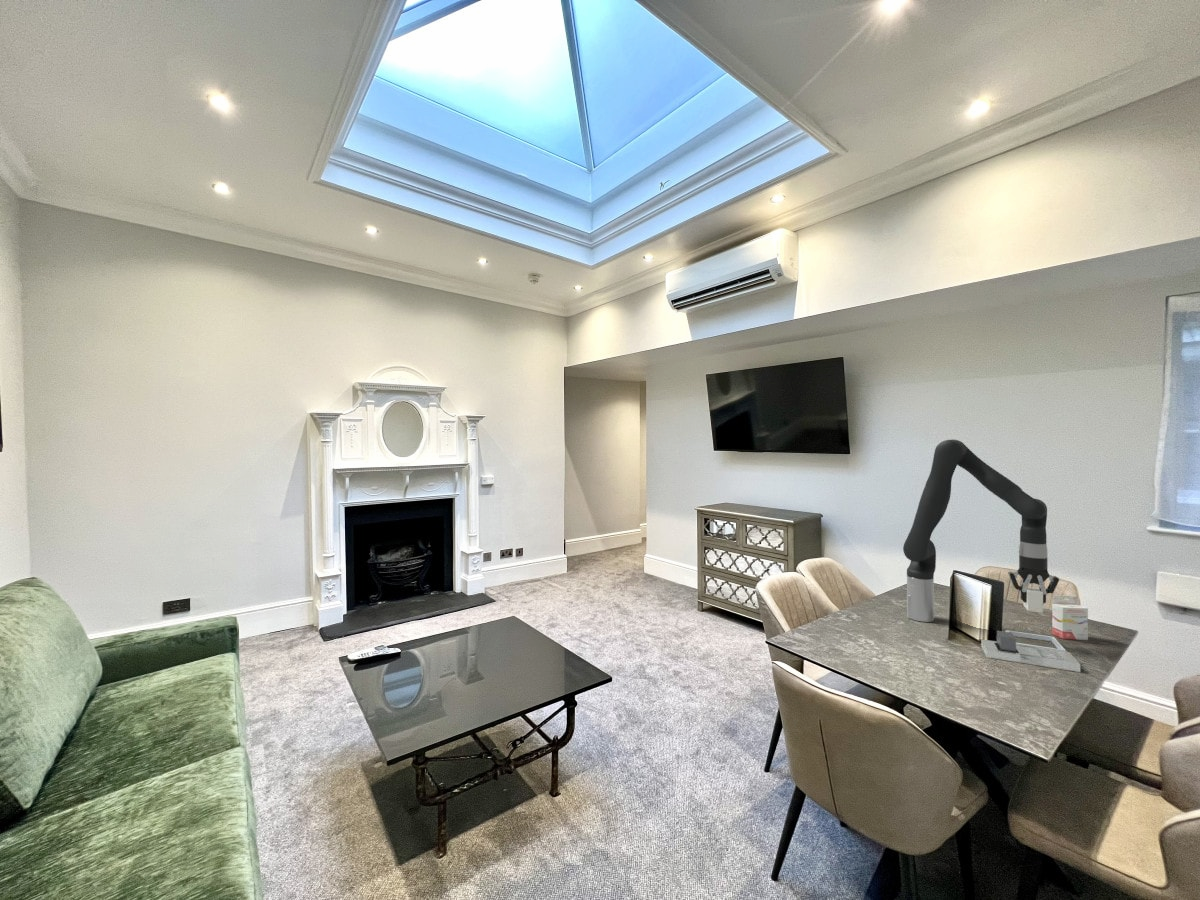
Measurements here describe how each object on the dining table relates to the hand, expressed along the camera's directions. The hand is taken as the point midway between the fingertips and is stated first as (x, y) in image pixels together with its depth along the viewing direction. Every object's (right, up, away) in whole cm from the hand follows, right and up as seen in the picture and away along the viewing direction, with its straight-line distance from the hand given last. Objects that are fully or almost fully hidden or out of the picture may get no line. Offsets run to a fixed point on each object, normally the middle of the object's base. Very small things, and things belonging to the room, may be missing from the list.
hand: (1033, 602), depth 171 cm
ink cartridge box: (+19, -15, +5) cm, 24 cm away
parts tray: (0, -15, 0) cm, 15 cm away
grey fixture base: (-12, -15, -11) cm, 22 cm away
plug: (0, -2, 0) cm, 2 cm away
